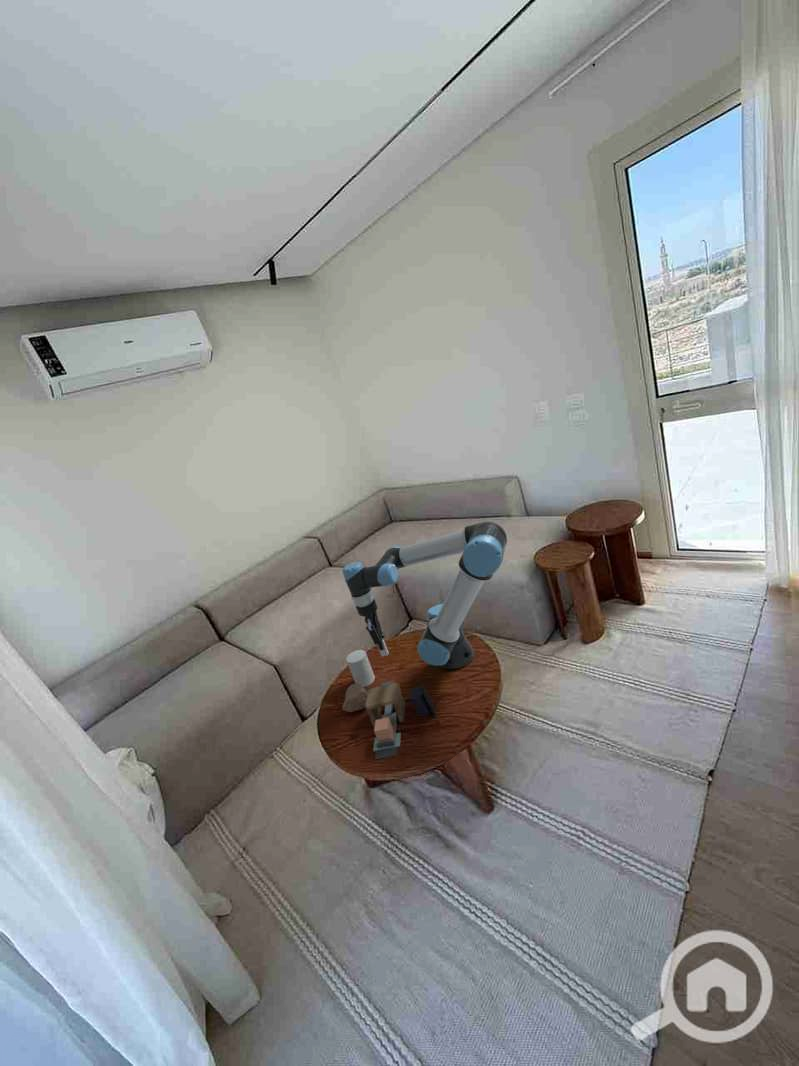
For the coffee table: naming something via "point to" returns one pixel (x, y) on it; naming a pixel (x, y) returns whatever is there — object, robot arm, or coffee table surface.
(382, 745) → the grey square dumbbell
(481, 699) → the coffee table surface
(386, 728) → the block
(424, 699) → the speaker
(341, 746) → the coffee table surface
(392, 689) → the tunnel
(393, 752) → the pad
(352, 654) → the cup
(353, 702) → the stone
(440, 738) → the coffee table surface
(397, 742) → the pad
